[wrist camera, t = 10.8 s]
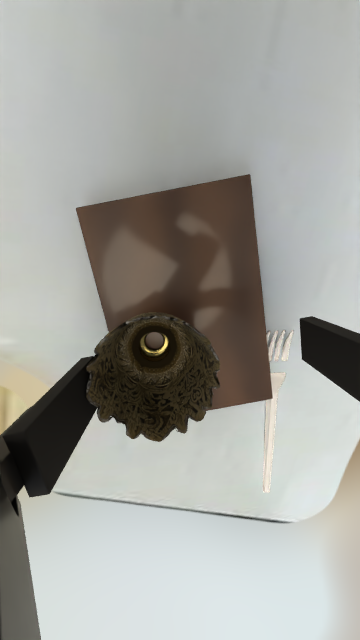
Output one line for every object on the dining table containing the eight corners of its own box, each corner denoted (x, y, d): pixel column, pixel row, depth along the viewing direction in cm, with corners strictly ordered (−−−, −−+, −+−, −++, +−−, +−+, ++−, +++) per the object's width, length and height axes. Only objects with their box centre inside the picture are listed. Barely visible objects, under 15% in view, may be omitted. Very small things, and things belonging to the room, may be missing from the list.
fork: (250, 487, 27) (256, 503, 25) (256, 326, 22) (264, 331, 20) (277, 486, 27) (285, 501, 25) (288, 324, 22) (299, 329, 20)
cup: (211, 334, 20) (248, 371, 13) (160, 393, 21) (165, 463, 13) (148, 281, 19) (145, 286, 11) (94, 346, 19) (55, 395, 12)
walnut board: (244, 181, 19) (250, 173, 17) (266, 390, 23) (273, 398, 22) (82, 212, 19) (75, 207, 17) (135, 414, 23) (133, 424, 22)
